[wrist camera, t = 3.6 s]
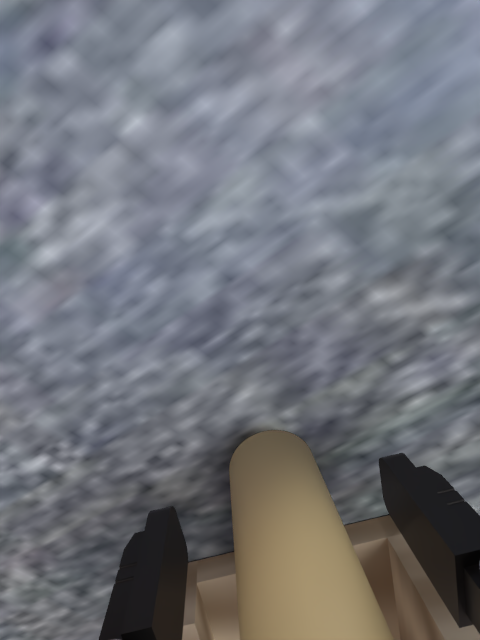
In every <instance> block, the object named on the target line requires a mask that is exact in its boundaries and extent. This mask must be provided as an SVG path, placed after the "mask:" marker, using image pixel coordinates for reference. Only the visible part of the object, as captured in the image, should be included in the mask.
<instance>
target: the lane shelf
mask: <svg viewBox="0 0 480 640" xmlns="http://www.w3.org/2000/svg"><path fill="white" fill-rule="evenodd" d="M344 527H345V529H346V532H347V534H348V536H349V539H350V541H351V543H352V545H353V548H354V550H355V552H356V554H357V557H358V559H359V561H360V564H361V566H362V568H363V570H364V573H365V575H366V577H367V579H368V582H369V584H370V586H371V589H372V591H373V593H374V595H375V598H376V600H377V602H378V604H379V607H380V609H381V611H382V614H383V616H384V618H385V620H386V623H387V625H388V627H389V629H390V632H391V634H392V636H393V638H394V640H480V634H479V632H478V631H477V629H476V628H475V626H474V625H470V626H466V627H462V628H459V626H458V625H457V623H456V622H455V620H454V618H453V617H452V615H451V614H450V612H449V610H448V609H447V607H446V605H445V604H444V602H443V601H442V599H441V597H440V596H439V594H438V593H437V591H436V589H435V588H434V586H433V584H432V583H431V581H430V580H429V578H428V576H427V575H426V573H425V571H424V570H423V568H422V567H421V565H420V563H419V562H418V560H417V559H416V557H415V555H414V554H413V552H412V550H411V549H410V547H409V546H408V544H407V542H406V541H405V539H404V538H403V536H402V534H401V533H400V531H399V529H398V528H397V526H396V525H395V523H394V521H393V520H392V518H391V516H390V515H387V516H383V517H378V518H374V519H370V520H366V521H362V522H357V523H353V524H349V525H345V526H344ZM182 640H240V633H239V618H238V602H237V586H236V570H235V555H234V552H231V553H227V554H223V555H219V556H214V557H210V558H206V559H202V560H197V561H193V562H189V563H188V571H187V583H186V596H185V609H184V622H183V635H182Z"/></svg>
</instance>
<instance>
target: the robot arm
mask: <svg viewBox="0 0 480 640" xmlns="http://www.w3.org/2000/svg"><path fill="white" fill-rule="evenodd" d="M379 468H380V476H381V484H382V491H383V498H384V502H385V505H386V508H387V510H388V512H389V514H390V516H391V518H392V520H393V521H394V523H395V525H396V526H397V528H398V529H399V531H400V533H401V534H402V536H403V538H404V539H405V541H406V542H407V544H408V546H409V547H410V549H411V550H412V552H413V554H414V555H415V557H416V559H417V560H418V562H419V563H420V565H421V567H422V568H423V570H424V571H425V573H426V575H427V576H428V578H429V580H430V581H431V583H432V584H433V586H434V588H435V589H436V591H437V593H438V594H439V596H440V597H441V599H442V601H443V602H444V604H445V605H446V607H447V609H448V610H449V612H450V614H451V615H452V617H453V618H454V620H455V622H456V623H457V625H458V626H459V628H462V627H466V626H470V625H474V626H475V628H476V629H477V631H478V632H479V634H480V516H479V515H478V514H477V513H476V512H475V510H474V509H473V508H472V507H471V506H470V505H469V504H468V503H467V502H465V501H464V499H463V498H462V496H461V495H460V494H459V493H458V492H457V491H455V490H454V488H453V487H452V486H451V485H450V484H449V483H448V481H447V480H446V479H445V478H444V477H443V476H442V475H441V474H439V473H437V472H435V471H434V470H432V469H430V468H428V467H427V466H421V467H417V468H416V467H415V466H414V465H413V463H412V462H411V461H410V460H409V459H408V458H407V456H406V455H405V454H403V453H399V454H395V455H390V456H386V457H382V458H380V459H379ZM119 567H120V569H119V570H118V573H117V577H116V580H115V581H116V584H114V587H113V591H112V594H111V598H110V602H109V605H108V609H107V612H106V616H105V619H104V623H103V626H102V630H101V633H100V637H99V640H182V635H183V622H184V609H185V596H186V583H187V571H188V553H187V546H186V542H185V538H184V535H183V532H182V529H181V526H180V523H179V520H178V517H177V513H176V510H175V508H174V507H173V506H170V507H166V508H162V509H157V510H153V511H150V512H149V514H148V518H147V522H146V527H145V531H142V532H138V533H135V534H134V535H133V537H132V538H131V540H130V541H129V543H128V544H127V546H126V547H125V549H124V552H123V555H122V559H121V563H120V566H119Z"/></svg>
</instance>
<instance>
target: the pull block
mask: <svg viewBox="0 0 480 640" xmlns="http://www.w3.org/2000/svg"><path fill="white" fill-rule="evenodd" d="M229 476H230V491H231V507H232V523H233V539H234V555H235V570H236V586H237V602H238V618H239V633H240V640H394V638H393V636H392V634H391V632H390V629H389V627H388V625H387V623H386V620H385V618H384V616H383V614H382V611H381V609H380V607H379V604H378V602H377V600H376V598H375V595H374V593H373V591H372V589H371V586H370V584H369V582H368V579H367V577H366V575H365V573H364V570H363V568H362V566H361V564H360V561H359V559H358V557H357V554H356V552H355V550H354V548H353V545H352V543H351V541H350V539H349V536H348V534H347V532H346V529H345V527H344V525H343V523H342V520H341V518H340V516H339V514H338V511H337V509H336V507H335V505H334V502H333V500H332V498H331V495H330V493H329V491H328V489H327V486H326V484H325V482H324V480H323V477H322V475H321V473H320V470H319V468H318V466H317V464H316V461H315V459H314V457H313V455H312V452H311V450H310V448H309V447H308V445H307V444H306V443H305V442H304V441H303V440H302V439H301V438H299V437H298V436H296V435H294V434H292V433H289V432H286V431H281V430H268V431H263V432H260V433H257V434H254V435H252V436H251V437H249V438H247V439H246V440H245V441H243V442H242V443H241V444H240V445H239V446H238V448H237V449H236V450H235V452H234V453H233V456H232V458H231V461H230V466H229Z"/></svg>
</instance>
